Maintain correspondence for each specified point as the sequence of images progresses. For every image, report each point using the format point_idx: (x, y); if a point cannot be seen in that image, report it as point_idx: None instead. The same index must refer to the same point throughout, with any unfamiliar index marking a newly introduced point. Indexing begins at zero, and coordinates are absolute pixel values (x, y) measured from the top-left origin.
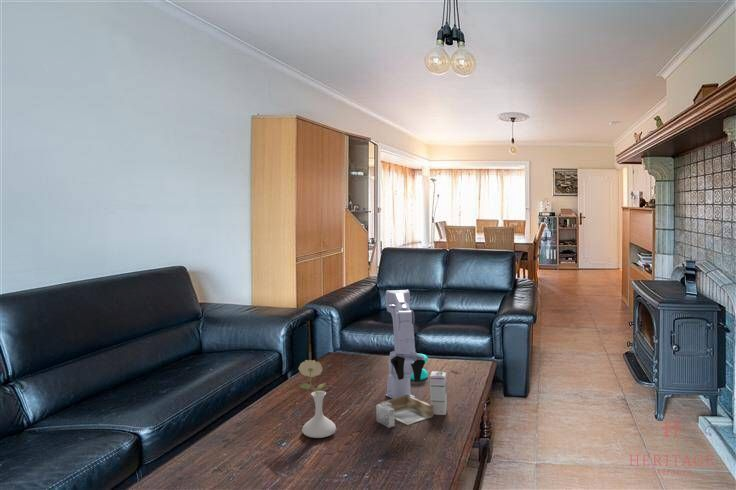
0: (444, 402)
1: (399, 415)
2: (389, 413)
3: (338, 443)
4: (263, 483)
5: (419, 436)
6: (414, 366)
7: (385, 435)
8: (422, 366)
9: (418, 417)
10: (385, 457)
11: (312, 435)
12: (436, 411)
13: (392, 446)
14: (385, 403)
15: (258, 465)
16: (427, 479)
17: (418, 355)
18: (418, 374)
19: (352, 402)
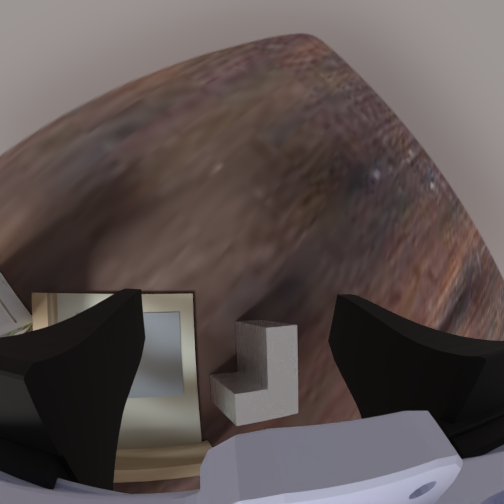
0: None
1: (163, 387)
2: (286, 323)
3: (407, 310)
4: (490, 253)
5: (218, 192)
6: (102, 446)
7: (303, 276)
8: (33, 335)
9: None
10: (363, 173)
11: None
12: (16, 300)
13: (325, 202)
14: (258, 408)
15: (487, 307)
16: (335, 62)
17: (18, 500)
18: (121, 321)
19: None
